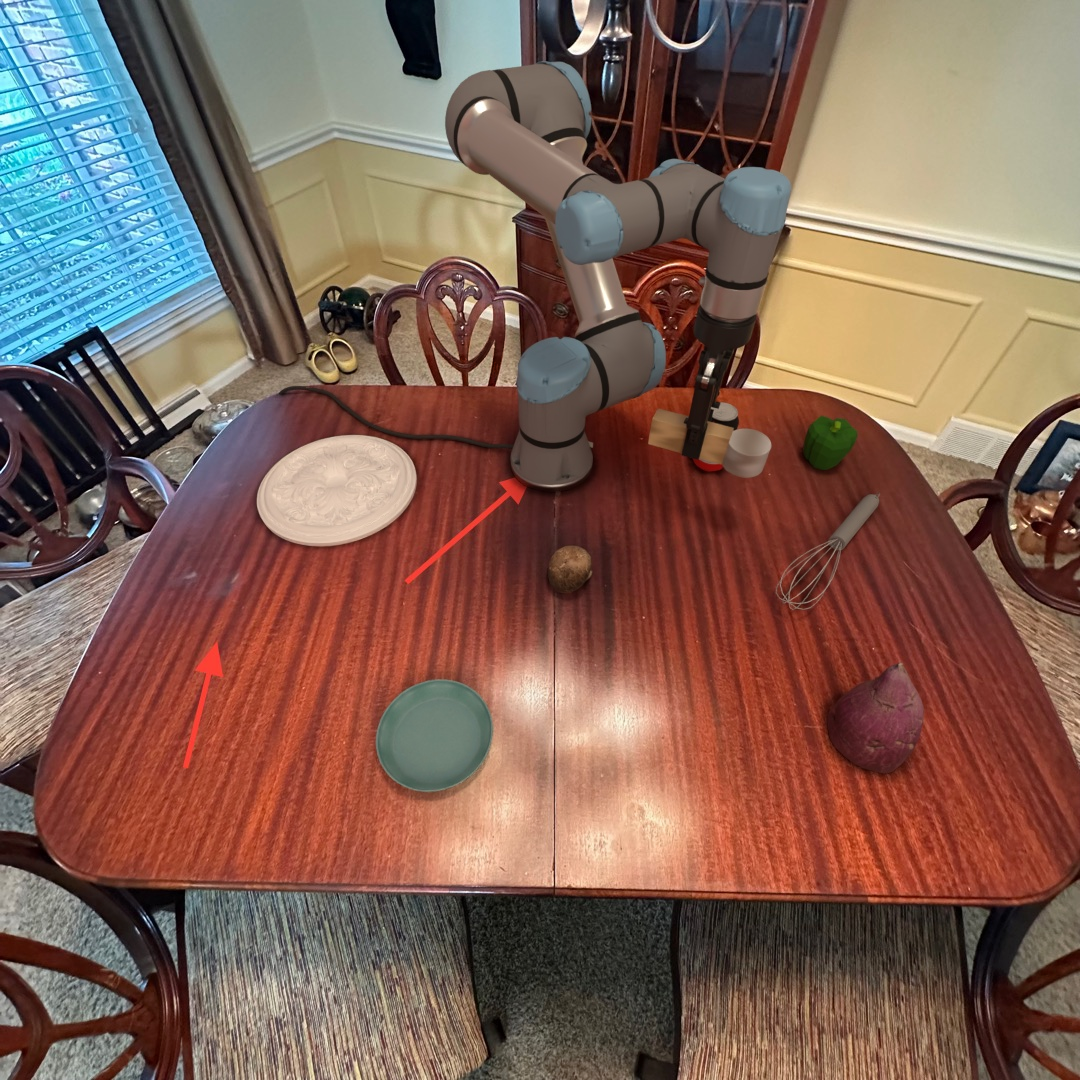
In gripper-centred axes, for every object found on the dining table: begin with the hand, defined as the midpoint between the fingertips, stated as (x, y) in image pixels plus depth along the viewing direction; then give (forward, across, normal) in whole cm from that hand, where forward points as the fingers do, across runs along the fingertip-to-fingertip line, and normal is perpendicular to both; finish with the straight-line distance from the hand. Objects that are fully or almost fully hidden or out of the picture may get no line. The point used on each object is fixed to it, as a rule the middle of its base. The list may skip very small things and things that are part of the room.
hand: (693, 448), depth 95 cm
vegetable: (+14, +30, +33) cm, 47 cm away
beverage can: (+14, -14, +2) cm, 19 cm away
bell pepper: (+14, -23, +21) cm, 34 cm away
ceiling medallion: (+14, +20, -58) cm, 63 cm away
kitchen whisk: (+14, 0, +25) cm, 28 cm away
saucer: (+14, +54, -17) cm, 58 cm away
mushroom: (+14, +22, -12) cm, 29 cm away
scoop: (0, 0, +2) cm, 2 cm away
